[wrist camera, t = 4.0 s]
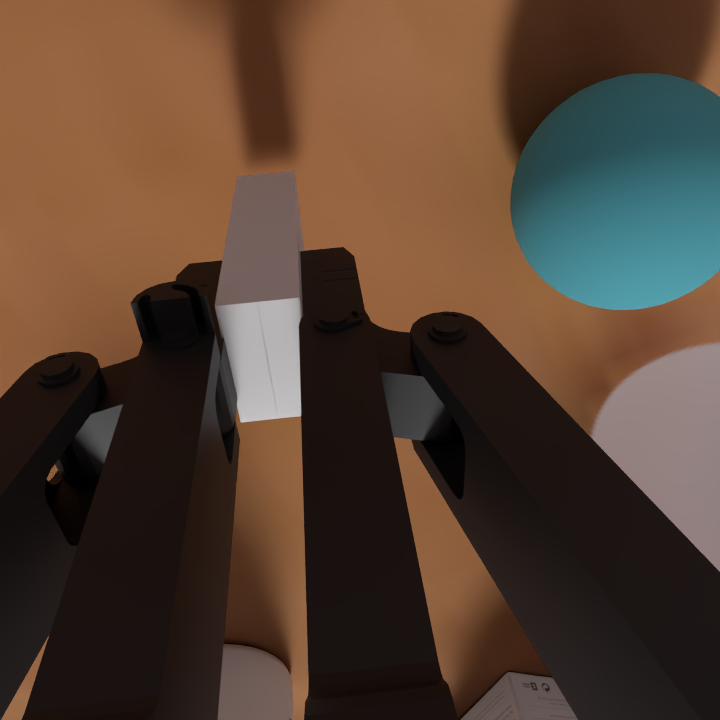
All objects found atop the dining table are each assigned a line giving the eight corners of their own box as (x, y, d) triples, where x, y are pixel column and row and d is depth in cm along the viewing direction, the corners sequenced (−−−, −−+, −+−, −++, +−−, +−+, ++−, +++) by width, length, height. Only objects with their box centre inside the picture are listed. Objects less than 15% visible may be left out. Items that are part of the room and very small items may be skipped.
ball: (492, 60, 17) (573, 122, 13) (704, 42, 18) (864, 96, 13) (480, 257, 21) (540, 365, 16) (657, 240, 21) (768, 340, 16)
